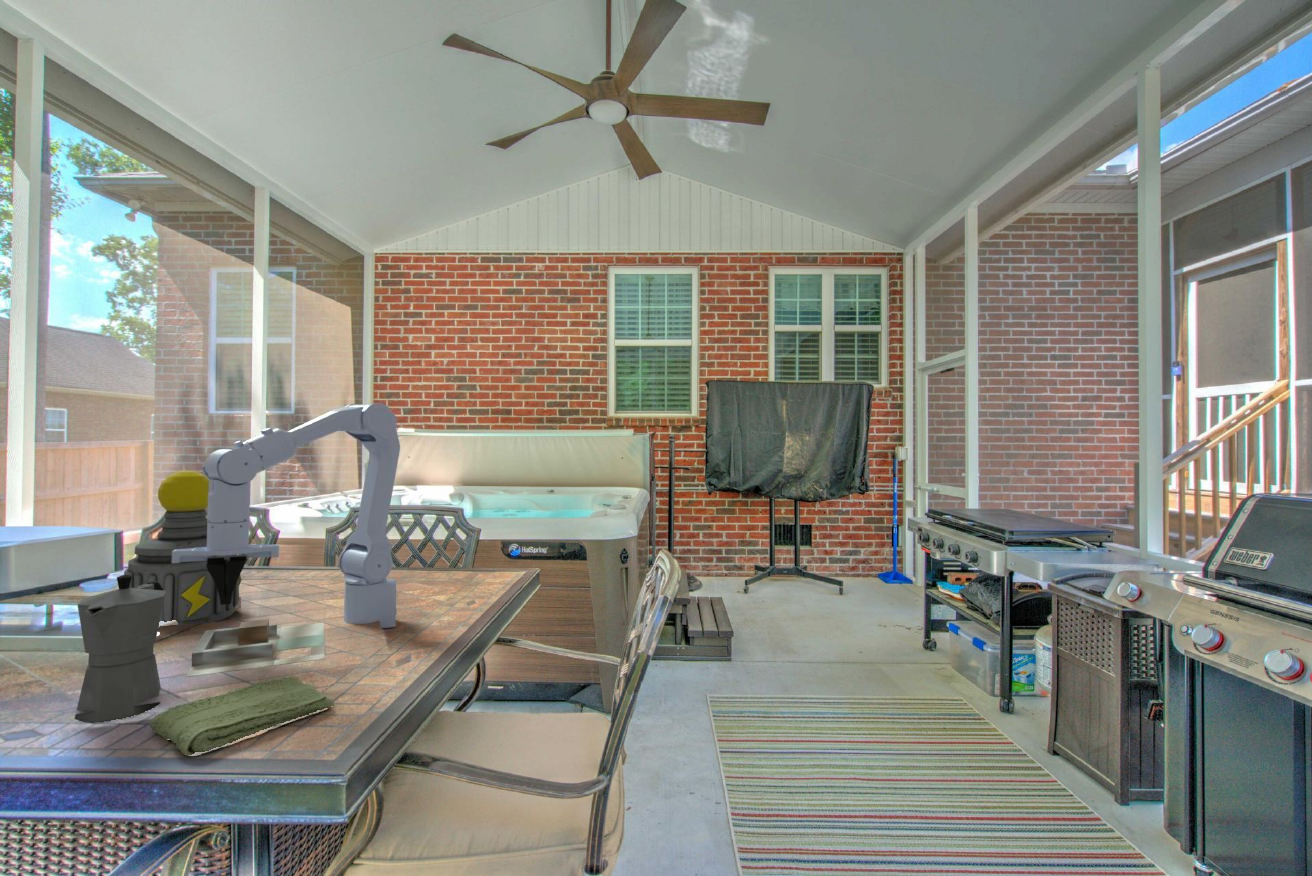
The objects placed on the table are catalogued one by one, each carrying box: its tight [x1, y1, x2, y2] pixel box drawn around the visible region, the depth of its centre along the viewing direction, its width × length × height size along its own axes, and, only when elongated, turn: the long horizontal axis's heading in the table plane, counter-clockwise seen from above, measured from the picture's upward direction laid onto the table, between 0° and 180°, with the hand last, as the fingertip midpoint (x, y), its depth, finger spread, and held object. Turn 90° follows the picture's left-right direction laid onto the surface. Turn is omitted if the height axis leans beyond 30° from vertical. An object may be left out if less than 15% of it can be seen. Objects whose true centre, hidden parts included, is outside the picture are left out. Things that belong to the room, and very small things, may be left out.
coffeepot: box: [74, 574, 166, 724], centre depth 84 cm, size 15×9×18 cm, turn 13°
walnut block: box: [238, 618, 270, 646], centre depth 104 cm, size 4×4×4 cm
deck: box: [185, 622, 326, 678], centre depth 104 cm, size 18×22×4 cm
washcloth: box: [149, 676, 335, 755], centre depth 80 cm, size 13×18×3 cm
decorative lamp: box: [123, 470, 242, 627], centre depth 124 cm, size 19×19×30 cm
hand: (226, 603), depth 102 cm, fingers closed
